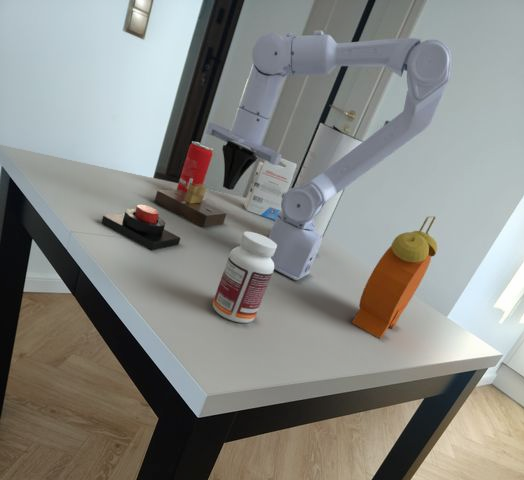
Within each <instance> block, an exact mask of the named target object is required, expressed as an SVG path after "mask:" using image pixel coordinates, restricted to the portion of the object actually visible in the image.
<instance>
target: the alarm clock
mask: <svg viewBox="0 0 524 480" xmlns="http://www.w3.org/2000/svg"><path fill="white" fill-rule="evenodd" d="M430 218H432V220H431V222H430V223H429V224H428V227H427V229H426V231H425V232H424V231H423V229H424V227H425V225H426V223H427V222H428V220H429V219H430ZM435 220H436V215H430V216H426V218H425V219H424V221H423V223H422V225H421V226H420V229H419V230H413V231H411V232H410V231H409V232H408V231H407V232H403V233H401V234H398V235H397V236H396V237H395V238H394V239H393V241H392V242H391V246H390V247H389V248H387V250H386V251H384V253H383V254H382V256H381V257H380V259H379V260H378V262H377V264H376V265H375V267H374V268H373V270H372V271H371V272H372V273H371V274H370V276H369V277H368V279H367V282H366V283H365V286H364V288H363V289H362V293H361V296H360V300H359V307H358V308H359V310H358V312H357V313H356V315H355V316H354V318H353V319H352V321H351V323H352V324H353V325H355V326H357V327H359V328H360V329H362V330H364V331H365V332H368V333H369V334H371V335H373V336H374V337H376V338H378V339H381V338H382V337H384V336H385V334H386V332H387V331H388V329H389V328H390V329H391V330H393V328H395V327H396V325H397V323H398V321H399V319H400V317H401V315H402V313H403V312H404V310H405V309H406V308H407V306H408V305H409V303H410V302H411V300H412V298H413V297H414V295H415V293H416V292H417V290H418V288H419V286H420V284H421V282H422V280H423V279H424V277H425V275H426V272H427V270H428V268H429V266H430V263H431V260H432V257H435V256H436V254H437V252H438V244H437V241H436V240H435V239H434V238H433V237H432V236H431V235H430V234H429V231H430V229H431V227H432V225H433V224H434V222H435Z"/></svg>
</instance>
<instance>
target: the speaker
mask: <svg viewBox="0 0 524 480" xmlns="http://www.w3.org/2000/svg"><path fill="white" fill-rule="evenodd" d="M363 141H364V140H361V139H359V138H357V137H355V136H353V135H351V134H348V133H346V132H344V131H342V130H341V129H339V128H338V127H336V125H334V124H332V126H330V125H328V124H326V123H323V122H320V123H319V125H318V129H317V130H316V133H315V135H314V138H313V140H312V142H311V145H310V148H309V150H308V152H307V155H306V157H305V160H304V162H303V164H302V167H301V170H300V172H299V174H298V177H297V179H296V182H295V184H294V187H299V186H300V185H303V184H307V183H308V182H310V181H311V180H312V179H314V178H315V177H317V176H318V175H320V174H321V173H323V172H324V171H325V170H327V169H328V168H329V167H331V166H332V165H333V164H335V163H336V162H337V161H338V160H340V159H341V158H342V157H344V156H345V155H346V154H348V153H349V152H350V151H352V150H353V149H354V148H356V147H357V146H358V145H360V144H361V143H362V142H363ZM294 187H293V188H294ZM345 189H346V188H344V189H343V190H342V191H340V192H339V193H337V194H336V195H335V196H333V197H332V198H331V199H329V200H328V201H327V202H326V203H325V204H324V206H323V208H322V210H321V211H320V213H319V214H318V215H316V216H314V217H313V218H312V219H313V221H314V225H315V227H314V229H313V230H314V231H315V232H317V233H319V234H320V235H322V237H323V238H324V237H325V234H326V231H327V230H328V227H329V225H330V223H331V222H332V221H331V220H332V219H333V217H334V214H335V211H336V209H337V207H338V205H339V203H340V201H341V198H342V196H343V194H344V192H345Z"/></svg>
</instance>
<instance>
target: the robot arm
mask: <svg viewBox="0 0 524 480" xmlns="http://www.w3.org/2000/svg"><path fill="white" fill-rule="evenodd" d="M313 32H314V33H313V35H310V34H309V35H293V33H292V32H286V33H285V34H284V38H283V37H282V36H281V35H280V34H278V33H277V32H276V33H275V32H270V33H267V34H264V35H261V36H260V37H259V38H258V39H257V40H256V41H255V43H254V45H253V47H252V54H251V58H252V62H253V63H252V66H251V69H250V72H249V75H248V78H247V80H246V83H245V85H244V87H243V88H244V89H243V91H242V95H241V98H240V100H239V104H238V106H237V110H236V113H235V117H234V119H233V122H232V125H231V128H230V129H228V128H226V127H223V126H221V125H219V124H217V123H214V122H208V124H207V126H206V127H207V128H206V131H205V134H207V135H209V136H212V137H215V138H217V139H219V140H221V141H223V142H226V144H223V146H222V149H221V150H222V155H223V163H224V164H223V165H224V167H223V168H224V171H223V172H224V173H223V183H222V187H223V188H225V189H227V190H234V189H235V187H236V185H237V184H238V183H239V181H240V179H241V178H242V177H243V175H244V174H245V173H246V171H247V170H249V168H250V167H251V166H252V165H253V164H254V163H255V162H257V160H258V158H259V159H261V160H263V161H264V160H266V161H268V162H269V163H271V164H273V165H279V164H280V162H279V161H280V159H281V158H282V155H283V154H281V153H279V152H277V151H275V150H273V149H271V148H270V147H268V146H265V145H263V144H262V140H263V137H264V135H265V132H266V130H267V126H268V124H269V121H270V119H271V115H272V112H273V109H274V107H275V104H276V101H277V98H278V95H279V91H280V88H281V86H282V82H283V81H284V78H285V77H287V76H288V75H290V76H291V77H301V76H302V77H303V76H307V77H309V76H328V75H330V74H331V73H332V72H333V71H334V69H336V67H385V68H387V69H388V70H390V71H391V72H393V73H394V74H395V75H397V76H398V77H401V78H402V76H403V73H404V71H405V72H406V82H407V91H406V95H405V101H404V105H403V106H404V107H403V109H402V111H401V112H400V113H399V114H397V115H396V116H395V117H394V118H392V119H391V120H389V122H387V123H386V124H385V125H383V126H382V127H381V128H379V129H378V130H377V131H376V132H374V133H372V134H371V135H370V136H369V137H367V138H365V140H362V141H363V142H362V143H361V144H360V145H358V146H357V147H356V148H354V149H353V150H352V151H350V152H349V153H348V154H346V155H345V156H344V157H342V158H341V159H340V160H338V161H337V162H336V163H335V164H333V165H332V166H331V167H329V168H328V169H327V170H325V171H324V172H323V173H321V174H320V175H318V176H317V177H315V178H314V179H312V180H311V181H310V182H308V183H307V184H303V185H300V186H299V187H292V188H290V189H288V191H287V192H286V193H285V195H284V196H283V198H282V202H281V209H280V211H279V212H278V215H277V217H276V220H274V223H273V225H272V227H271V230H270V232H269V234H268V237H267V238H269V239H271V240H272V241H273V242H275V243H276V245H277V248H276V250H275V253H274V255H273V256H271V259H272V261H273V262H274V270H275V271H276V272H278V273H280V274H281V275H284V276H285V277H287V278H290V279H292V280H294V281H298V280H300V279H302V278H304V277H306V276H308V275H309V274H310V270H311V268H312V266H313V263H314V261H315V259H316V257H317V255H318V252H319V250H320V248H321V246H322V243H323V238H324V236H323V237H322V235H320V234H319V233H317V232H315V231H314V230H313V229H314V227H315V225H314V221H313V219H312V218H313V217H314V216H316V215H318V214H319V213H320V211H321V210H322V208H323V206H324V204H325V203H326V202H327V201H328V200H329V199H331V198H332V197H333V196H335V195H336V194H337V193H339V192H340V191H342V190H343V189H344V188H345V189H346V188H348V186H350V185H351V184H353V183H354V182H355V181H357V180H358V179H360V178H361V177H362V176H363V175H365V174H367V173H368V172H369V171H370V170H372V169H373V168H375V167H376V166H377V165H379V164H380V163H381V162H383V161H384V160H386V159H387V158H388V157H390V156H391V155H392V154H394V153H395V152H396V151H398V150H400V149H401V148H402V147H404V146H405V145H407V144H408V143H409V142H411V141H412V140H413V139H415V138H416V137H418V136H419V135H420V134H421V133H423V132H424V131H425V130H427V129H428V128H429V127H430V125H431V124H432V121H433V118H434V116H435V114H436V112H437V109H438V108H439V105H440V102H441V100H442V98H443V96H444V93H445V91H446V88H447V86H448V84H449V82H450V74H451V67H452V55H451V51H450V48H449V47H448V46H447V44H445V42H442V40H439V39H435V38H434V39H433V38H432V39H425V40H424V41H422V39H421V38H416V37H404V38H402V37H401V38H389V39H387V38H386V39H375V40H363V41H351V42H339V43H338V42H336V40H335V39H334V38H333V37H332V36H331V34H324V32H323V30H322V29H319V30H314V31H313Z"/></svg>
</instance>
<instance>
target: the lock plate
mask: <svg viewBox="0 0 524 480" xmlns="http://www.w3.org/2000/svg"><path fill="white" fill-rule="evenodd" d="M186 194H187V193H186V192H184V191H182V190H177V189H165V190H163V189H162V190H160V189H158V190H157V191H156V194H155V198H154V200H153V201H154V202H153V203H155V204H157V205H159V206H161V207H162V208H165V209H167V210H168V211H170V212H172V213H174V214H176V215H178V216H180V217H182V218H184V219H186V220H187V221H189V222H192V223H193V224H195V225H198V226H199V227H201V228H208V227H214V226H220V225H224V223H225V219H226V217H227V212H226V211H223V210H221V209H219V208H217V207H216V206H213V205H212V204H210V203H207V202H206V201H205V200H204V199H203V200H202V203H191V204H190V203H188V202H186V201H184V200H185V197H186Z"/></svg>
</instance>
